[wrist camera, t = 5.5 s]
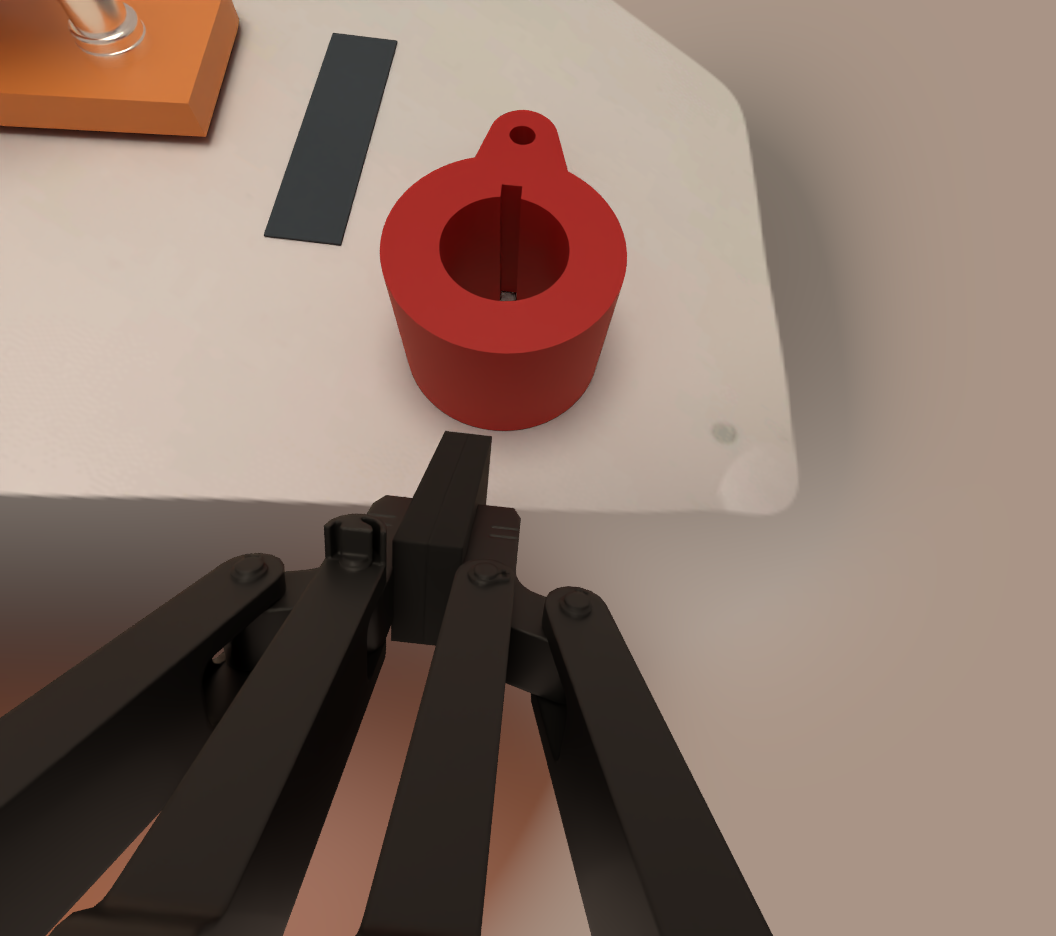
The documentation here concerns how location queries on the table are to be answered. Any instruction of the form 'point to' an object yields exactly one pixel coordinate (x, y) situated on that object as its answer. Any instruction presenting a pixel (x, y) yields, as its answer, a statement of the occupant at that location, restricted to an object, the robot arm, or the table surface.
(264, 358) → the table surface
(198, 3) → the desk clock
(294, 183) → the strip
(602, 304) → the lever
